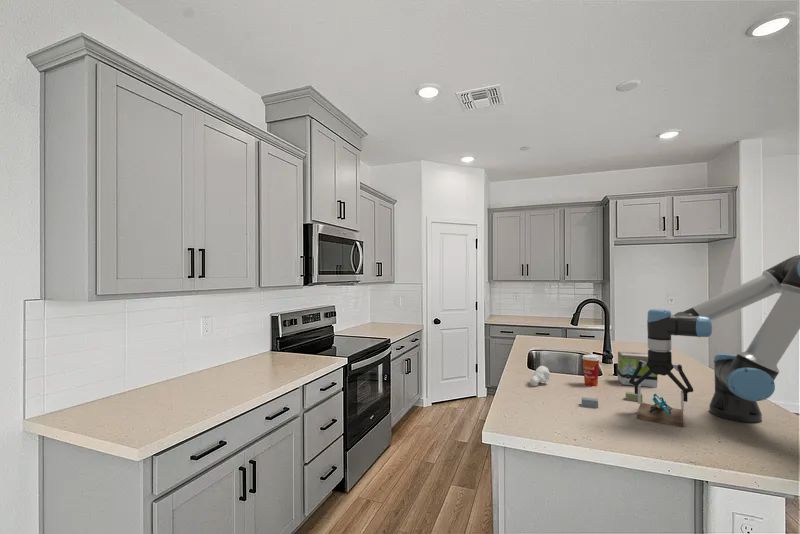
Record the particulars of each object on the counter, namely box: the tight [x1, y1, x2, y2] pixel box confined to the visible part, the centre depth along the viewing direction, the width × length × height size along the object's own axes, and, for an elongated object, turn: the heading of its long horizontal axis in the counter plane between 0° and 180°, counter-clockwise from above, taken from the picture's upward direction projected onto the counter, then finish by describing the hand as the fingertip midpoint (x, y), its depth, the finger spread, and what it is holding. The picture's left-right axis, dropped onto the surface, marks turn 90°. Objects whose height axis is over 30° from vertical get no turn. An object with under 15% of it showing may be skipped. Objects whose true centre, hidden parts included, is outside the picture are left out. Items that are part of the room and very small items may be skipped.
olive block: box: [625, 391, 643, 403], centre depth 167 cm, size 6×3×3 cm, turn 62°
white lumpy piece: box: [529, 365, 551, 387], centre depth 190 cm, size 6×8×12 cm
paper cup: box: [581, 354, 600, 387], centre depth 189 cm, size 8×8×14 cm
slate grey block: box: [581, 396, 599, 409], centre depth 159 cm, size 6×3×3 cm, turn 66°
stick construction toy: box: [649, 393, 673, 415], centre depth 149 cm, size 12×7×8 cm
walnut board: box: [636, 402, 684, 428], centre depth 148 cm, size 14×16×2 cm
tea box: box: [617, 350, 658, 389], centre depth 191 cm, size 15×10×15 cm, turn 73°
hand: (660, 406), depth 148 cm, fingers open, 13 cm apart
